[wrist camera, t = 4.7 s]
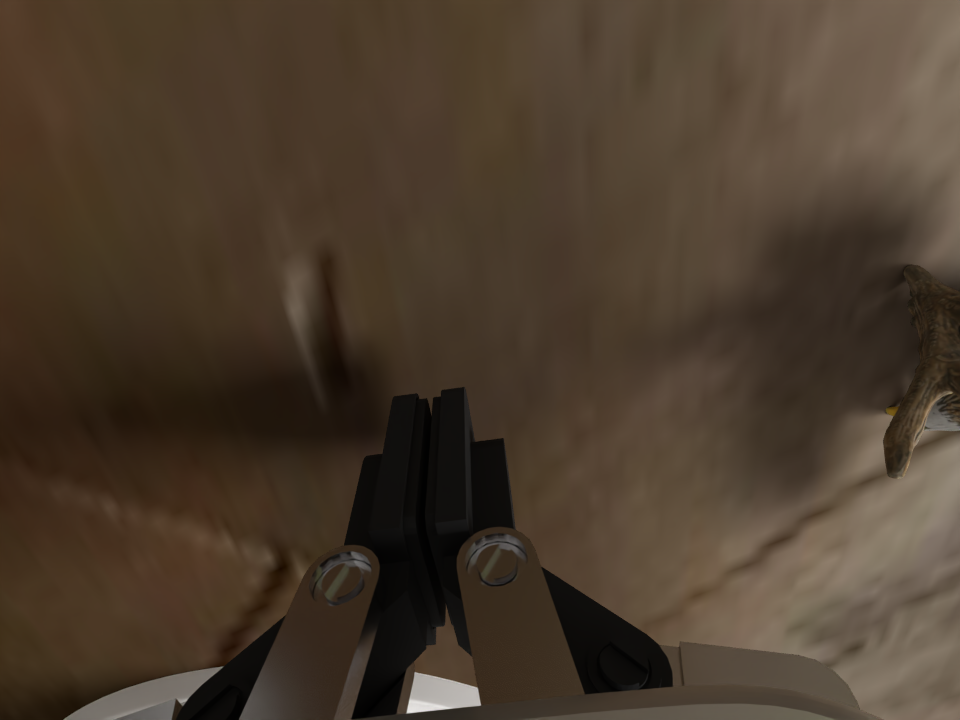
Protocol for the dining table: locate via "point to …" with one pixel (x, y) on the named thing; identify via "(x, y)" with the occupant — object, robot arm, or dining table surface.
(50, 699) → the dining table surface
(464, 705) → the plate stack
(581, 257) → the dining table surface
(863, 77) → the dining table surface
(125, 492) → the dining table surface
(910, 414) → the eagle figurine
